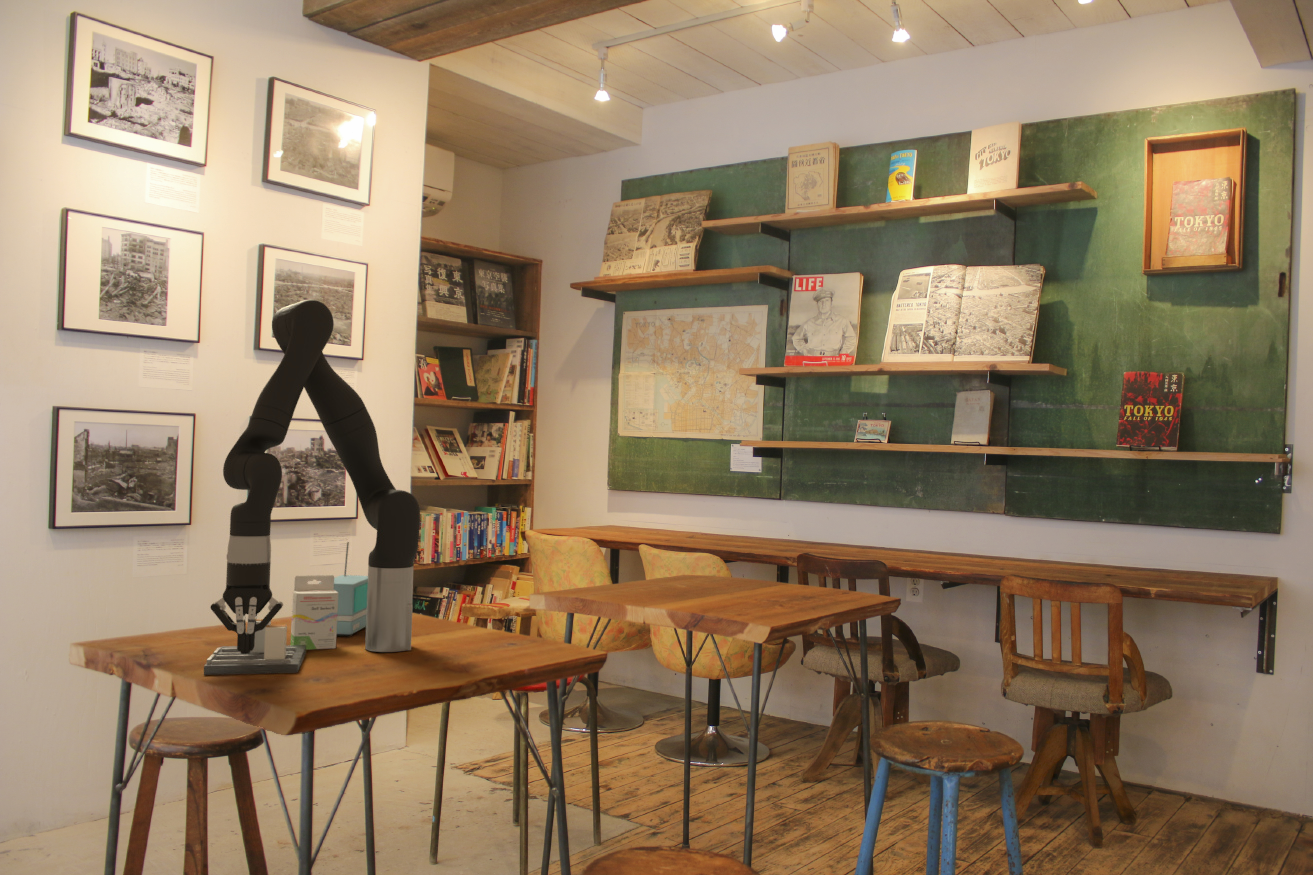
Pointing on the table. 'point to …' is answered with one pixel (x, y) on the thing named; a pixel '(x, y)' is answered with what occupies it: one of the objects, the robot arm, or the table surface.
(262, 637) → the fader far
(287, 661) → the gray slotted tray
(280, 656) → the fader near
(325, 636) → the ink box
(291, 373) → the robot arm
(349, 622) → the radio
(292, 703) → the table surface
